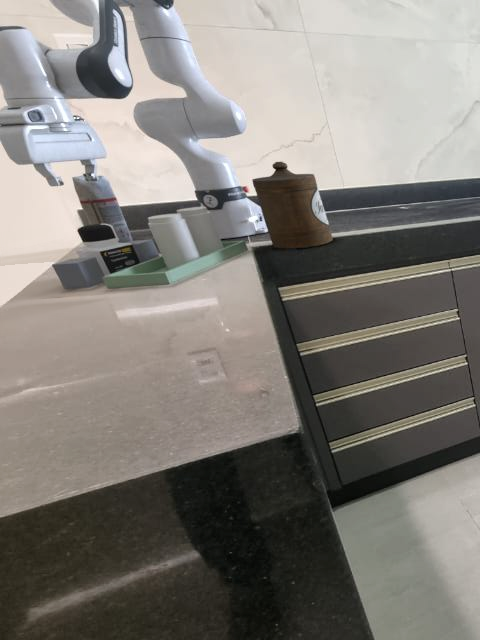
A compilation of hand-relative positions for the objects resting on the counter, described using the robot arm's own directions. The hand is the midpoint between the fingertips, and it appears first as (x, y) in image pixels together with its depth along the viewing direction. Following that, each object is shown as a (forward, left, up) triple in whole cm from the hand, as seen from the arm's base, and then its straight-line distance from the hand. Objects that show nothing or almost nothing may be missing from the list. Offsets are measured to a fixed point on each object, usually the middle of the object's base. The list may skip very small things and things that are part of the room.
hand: (75, 183), depth 117 cm
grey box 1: (+9, 0, -21) cm, 23 cm away
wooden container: (-24, +32, -21) cm, 45 cm away
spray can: (-44, -31, -21) cm, 58 cm away
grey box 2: (-9, 0, -21) cm, 23 cm away
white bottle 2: (-12, +14, -20) cm, 27 cm away
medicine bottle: (0, 0, -21) cm, 21 cm away
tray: (-2, +14, -21) cm, 25 cm away
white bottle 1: (-2, +14, -20) cm, 25 cm away
